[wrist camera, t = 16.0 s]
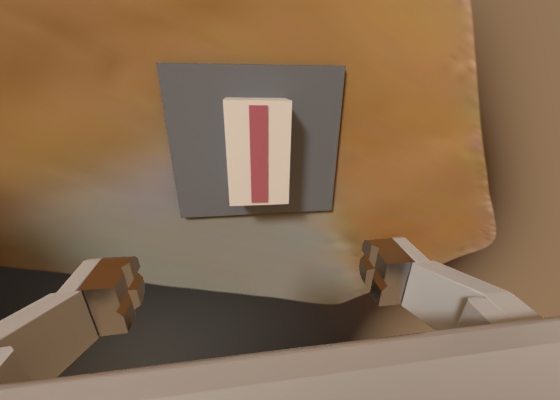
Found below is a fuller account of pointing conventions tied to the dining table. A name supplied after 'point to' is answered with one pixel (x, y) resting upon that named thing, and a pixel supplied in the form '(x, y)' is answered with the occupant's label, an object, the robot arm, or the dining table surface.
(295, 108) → the mat
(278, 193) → the card deck
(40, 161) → the dining table surface
